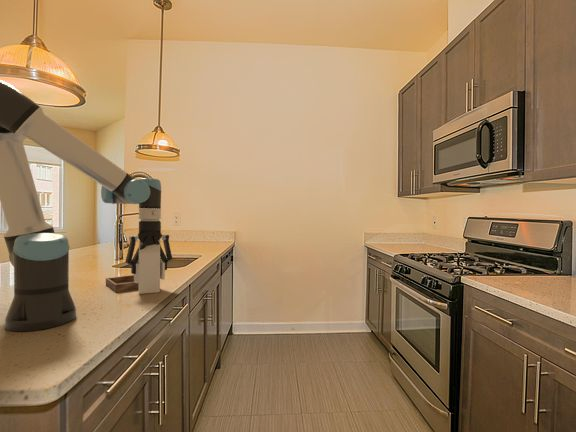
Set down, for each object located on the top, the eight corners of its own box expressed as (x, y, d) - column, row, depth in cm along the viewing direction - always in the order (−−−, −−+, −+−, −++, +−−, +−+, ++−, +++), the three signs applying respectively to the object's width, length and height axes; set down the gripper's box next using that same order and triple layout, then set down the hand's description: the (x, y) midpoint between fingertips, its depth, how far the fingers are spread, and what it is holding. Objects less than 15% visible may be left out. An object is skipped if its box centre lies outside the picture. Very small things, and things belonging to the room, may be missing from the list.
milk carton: (159, 292, 117) (160, 241, 116) (138, 294, 114) (138, 241, 114) (159, 288, 123) (160, 239, 123) (139, 289, 121) (139, 239, 120)
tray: (115, 292, 116) (115, 284, 116) (105, 285, 127) (105, 278, 127) (154, 286, 126) (154, 279, 126) (142, 280, 136) (142, 273, 136)
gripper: (121, 221, 108) (121, 287, 109) (182, 220, 123) (181, 278, 123) (115, 220, 114) (115, 283, 114) (174, 219, 128) (173, 275, 129)
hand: (149, 280), depth 119 cm, fingers closed on milk carton, 9 cm apart
